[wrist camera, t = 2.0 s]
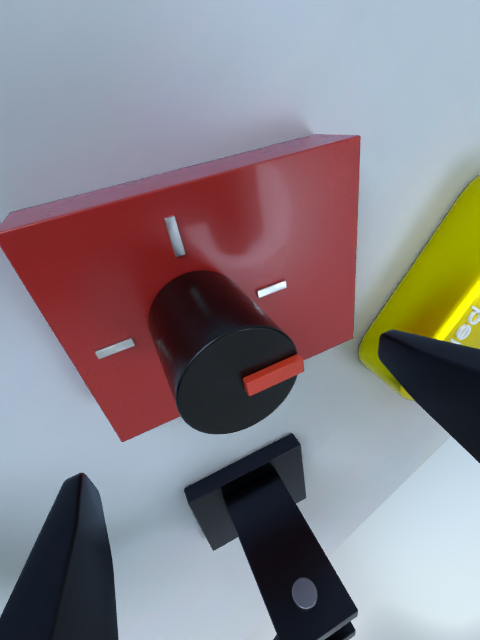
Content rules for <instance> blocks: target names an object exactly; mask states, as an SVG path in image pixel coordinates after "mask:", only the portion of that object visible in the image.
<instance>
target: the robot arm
mask: <svg viewBox="0 0 480 640" xmlns="http://www.w3.org/2000/svg"><path fill="white" fill-rule="evenodd" d="M378 357H379V359H380V361H381V362H382V364H383V365H384V366H385V367H386V368H387V369H388V371H389V372H390V373H391V374H392V375H393V376H394V378H395V379H396V380H397V381H398V382H399V383H400V385H401V386H402V387H403V388H404V389H405V390H406V392H407V393H408V394H409V395H410V396H411V397H412V398H413V399H414V400H415V401H416V402H417V403H418V404H419V405H420V406H421V407H422V408H423V409H424V410H425V411H426V412H427V413H428V414H429V415H430V416H431V417H432V418H433V419H434V420H435V421H436V422H437V423H439V424H440V425H441V426H442V427H443V428H444V429H445V430H446V431H447V432H448V433H449V434H450V435H451V436H452V437H453V438H454V439H455V440H456V441H457V442H458V443H459V444H461V446H463V448H465V449H466V450H467V451H468V452H469V453H470V454H471V455H472V456H473V457H474V458H475V459H476V460H477V461H478V462H479V463H480V349H477V348H473V347H469V346H464V345H460V344H455V343H451V342H447V341H442V340H438V339H433V338H429V337H425V336H420V335H416V334H411V333H407V332H403V331H398V330H389V331H386V332H384V333H382V334H381V335H380V337H379V344H378ZM0 640H118V627H117V613H116V600H115V586H114V573H113V562H112V556H111V550H110V544H109V539H108V534H107V529H106V523H105V518H104V513H103V508H102V502H101V497H100V494H99V491H98V490H97V488H96V487H95V486H94V484H93V483H92V482H91V481H90V479H89V478H88V477H87V476H86V474H84V473H79V474H77V475H75V476H72V477H70V478H68V479H67V480H65V482H64V483H63V485H62V487H61V489H60V491H59V493H58V495H57V498H56V500H55V502H54V504H53V506H52V508H51V510H50V512H49V515H48V517H47V519H46V521H45V523H44V525H43V527H42V530H41V532H40V534H39V536H38V538H37V540H36V542H35V544H34V547H33V549H32V551H31V553H30V555H29V557H28V559H27V561H26V564H25V566H24V568H23V570H22V572H21V574H20V576H19V579H18V581H17V583H16V585H15V587H14V589H13V591H12V593H11V596H10V598H9V600H8V602H7V604H6V606H5V608H4V610H3V613H2V615H1V617H0Z"/></svg>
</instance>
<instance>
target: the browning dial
mask: <svg viewBox="0 0 480 640" xmlns="http://www.w3.org/2000/svg"><path fill="white" fill-rule="evenodd" d="M148 326H149V331H150V334H151V337H152V340H153V343H154V345H155V348H156V351H157V354H158V356H159V359H160V362H161V365H162V368H163V370H164V373H165V376H166V379H167V382H168V384H169V387H170V390H171V393H172V396H173V398H174V401H175V404H176V407H177V409H178V412H179V414H180V416H181V417H182V419H183V420H184V421H185V422H186V423H187V424H188V425H189V426H191V427H192V428H194V429H196V430H198V431H201V432H204V433H208V434H227V433H233V432H237V431H240V430H243V429H246V428H248V427H250V426H253V425H254V424H256V423H258V422H260V421H261V420H263V419H264V418H266V417H267V416H268V415H270V414H271V413H272V412H273V411H274V410H275V409H277V408H278V407H279V405H280V404H281V403H282V402H283V401H284V400H285V398H286V397H287V396H288V394H289V392H290V391H291V389H292V387H293V385H294V383H295V380H296V378H297V374H300V373H302V372H304V363H303V358H302V357H301V356H300V355H299V354H298V352H297V349H296V346H295V344H294V342H293V341H292V339H291V338H290V337H289V336H288V335H287V334H286V333H285V332H284V331H283V330H282V329H281V328H280V327H279V326H278V325H277V324H276V323H275V322H274V321H273V320H272V319H271V318H270V317H269V316H268V315H267V314H266V313H265V312H264V311H263V310H261V309H260V308H259V307H258V306H257V305H256V304H255V303H254V302H253V301H252V300H251V299H250V298H249V297H248V296H247V295H246V294H245V293H244V292H243V291H242V290H241V289H240V288H239V287H238V286H237V285H236V284H235V283H234V282H233V281H232V280H231V279H229V278H228V277H226V276H225V275H223V274H220V273H218V272H214V271H208V270H198V271H191V272H188V273H184V274H182V275H180V276H178V277H176V278H174V279H172V280H171V281H170V282H168V283H167V284H166V285H165V286H164V287H163V288H162V289H161V290H160V291H159V292H158V294H157V295H156V297H155V298H154V300H153V302H152V304H151V307H150V310H149V316H148Z"/></svg>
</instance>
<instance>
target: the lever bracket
mask: <svg viewBox="0 0 480 640" xmlns="http://www.w3.org/2000/svg"><path fill="white" fill-rule="evenodd" d="M184 491H185V494H186V498H187V501H188V504H189V506H190V508H191V510H192V512H193V514H194V515H195V517H196V519H197V521H198V523H199V525H200V527H201V529H202V531H203V533H204V535H205V536H206V538H207V540H208V542H209V544H210V546H211V548H212V550H213V551H214V550H216V549H218V548H219V547H221V546H223V545H225V544H226V543H228V542H230V541H232V540H233V539H235V538H237V537H239V540H240V542H241V545H242V547H243V550H244V552H245V555H246V557H247V560H248V562H249V565H250V567H251V570H252V572H253V575H254V577H255V580H256V582H257V585H258V588H259V590H260V593H261V595H262V598H263V600H264V603H265V605H266V608H267V610H268V613H269V615H270V618H271V620H272V623H273V625H274V628H275V630H276V632H277V635H278V638H279V640H349V639H351V638H352V637H353V636H354V635H355V629H354V627H353V625H352V623H351V620H352V619H354V618H355V617H357V615H358V610H357V608H356V606H355V604H354V602H353V601H352V599H351V597H350V596H349V594H348V592H347V591H346V589H345V587H344V585H343V584H342V582H341V580H340V579H339V577H338V575H337V574H336V572H335V570H334V568H333V566H332V565H331V563H330V562H329V560H328V558H327V556H326V555H325V553H324V551H323V549H322V548H321V546H320V544H319V543H318V541H317V539H316V537H315V536H314V534H313V532H312V531H311V529H310V527H309V525H308V524H307V522H306V520H305V519H304V517H303V515H302V513H301V512H300V510H299V508H298V507H297V505H296V503H298V502H300V501H301V500H303V499H305V498H306V491H305V482H304V473H303V463H302V454H301V445H300V443H299V442H298V440H297V439H296V437H295V436H294V435H293V434H290V435H288V436H286V437H284V438H282V439H280V440H278V441H276V442H274V443H272V444H270V445H269V446H267V447H265V448H263V449H261V450H259V451H257V452H255V453H253V454H251V455H249V456H247V457H245V458H243V459H241V460H239V461H237V462H235V463H233V464H231V465H229V466H227V467H225V468H224V469H222V470H220V471H218V472H216V473H214V474H212V475H210V476H208V477H206V478H204V479H202V480H200V481H198V482H196V483H194V484H192V485H190V486H188V487H186V488H185V489H184Z"/></svg>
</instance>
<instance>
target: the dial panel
mask: <svg viewBox="0 0 480 640" xmlns="http://www.w3.org/2000/svg"><path fill="white" fill-rule="evenodd" d="M359 163H360V136H359V135H322V134H315V135H311V136H307V137H303V138H299V139H295V140H291V141H287V142H283V143H280V144H276V145H272V146H268V147H264V148H260V149H256V150H252V151H248V152H244V153H240V154H237V155H233V156H229V157H225V158H221V159H217V160H213V161H209V162H205V163H201V164H198V165H194V166H190V167H186V168H182V169H178V170H174V171H170V172H166V173H162V174H158V175H155V176H151V177H147V178H143V179H139V180H135V181H131V182H127V183H123V184H119V185H115V186H112V187H108V188H104V189H100V190H96V191H92V192H88V193H84V194H80V195H76V196H73V197H69V198H65V199H61V200H57V201H53V202H49V203H45V204H41V205H37V206H33V207H30V208H26V209H22V210H18V211H14V212H10V213H9V215H8V216H7V217H6V218H5V220H4V221H3V222H2V223H1V225H0V247H1V249H2V250H3V252H4V253H5V255H6V257H7V258H8V260H9V261H10V263H11V265H12V266H13V268H14V269H15V271H16V273H17V274H18V276H19V278H20V279H21V281H22V282H23V284H24V286H25V287H26V289H27V290H28V292H29V294H30V295H31V297H32V298H33V300H34V302H35V303H36V305H37V306H38V308H39V310H40V311H41V313H42V314H43V316H44V318H45V319H46V321H47V323H48V324H49V326H50V327H51V329H52V331H53V332H54V334H55V335H56V337H57V339H58V340H59V342H60V343H61V345H62V347H63V348H64V350H65V351H66V353H67V355H68V356H69V358H70V359H71V361H72V363H73V364H74V366H75V368H76V369H77V371H78V372H79V374H80V376H81V377H82V379H83V380H84V382H85V384H86V385H87V387H88V388H89V390H90V392H91V393H92V395H93V396H94V398H95V400H96V401H97V403H98V404H99V406H100V408H101V409H102V411H103V413H104V414H105V416H106V417H107V419H108V421H109V422H110V424H111V425H112V427H113V429H114V430H115V432H116V433H117V435H118V437H119V438H120V440H121V441H122V442H124V441H126V440H129V439H131V438H133V437H135V436H137V435H140V434H142V433H144V432H146V431H149V430H151V429H153V428H155V427H157V426H160V425H162V424H164V423H166V422H168V421H171V420H173V419H175V418H177V417H180V414H179V412H178V409H177V407H176V404H175V401H174V398H173V396H172V393H171V390H170V387H169V384H168V382H167V379H166V376H165V373H164V370H163V368H162V365H161V362H160V359H159V356H158V354H157V351H156V348H155V345H154V343H153V340H152V337H151V334H150V331H149V326H148V316H149V310H150V307H151V304H152V302H153V300H154V298H155V297H156V295H157V294H158V292H159V291H160V290H161V289H162V288H163V287H164V286H165V285H166V284H167V283H168V282H170V281H171V280H172V279H174V278H176V277H178V276H180V275H182V274H184V273H188V272H191V271H198V270H208V271H214V272H218V273H220V274H223V275H225V276H226V277H228V278H229V279H231V280H232V281H233V282H234V283H235V284H236V285H237V286H238V287H239V288H240V289H241V290H242V291H243V292H244V293H245V294H246V295H247V296H248V297H249V298H250V299H251V300H252V301H253V302H254V303H255V304H256V305H257V306H258V307H259V308H260V309H261V310H263V311H264V312H265V313H266V314H267V315H268V316H269V317H270V318H271V319H272V320H273V321H274V322H275V323H276V324H277V325H278V326H279V327H280V328H281V329H282V330H283V331H284V332H285V333H286V334H287V335H288V336H289V337H290V338H291V339H292V341H293V342H294V344H295V346H296V349H297V352H298V354H299V355H300V356H301V357H302V358H303V360H306V359H308V358H310V357H312V356H314V355H317V354H319V353H321V352H323V351H325V350H328V349H330V348H332V347H334V346H337V345H339V344H341V343H343V342H345V341H348V340H350V339H352V338H353V329H354V301H355V274H356V246H357V218H358V191H359Z"/></svg>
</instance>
